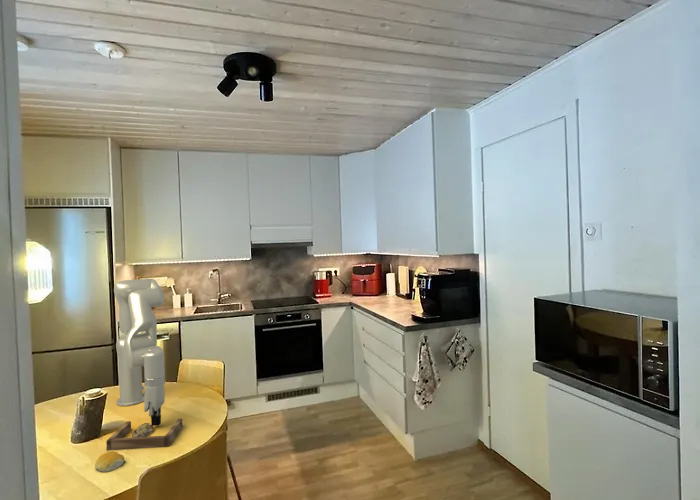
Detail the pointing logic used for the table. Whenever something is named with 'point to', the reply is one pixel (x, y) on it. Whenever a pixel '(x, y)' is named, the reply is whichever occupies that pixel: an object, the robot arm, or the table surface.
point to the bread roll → (109, 461)
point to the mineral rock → (143, 430)
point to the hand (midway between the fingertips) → (156, 424)
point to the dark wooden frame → (141, 438)
